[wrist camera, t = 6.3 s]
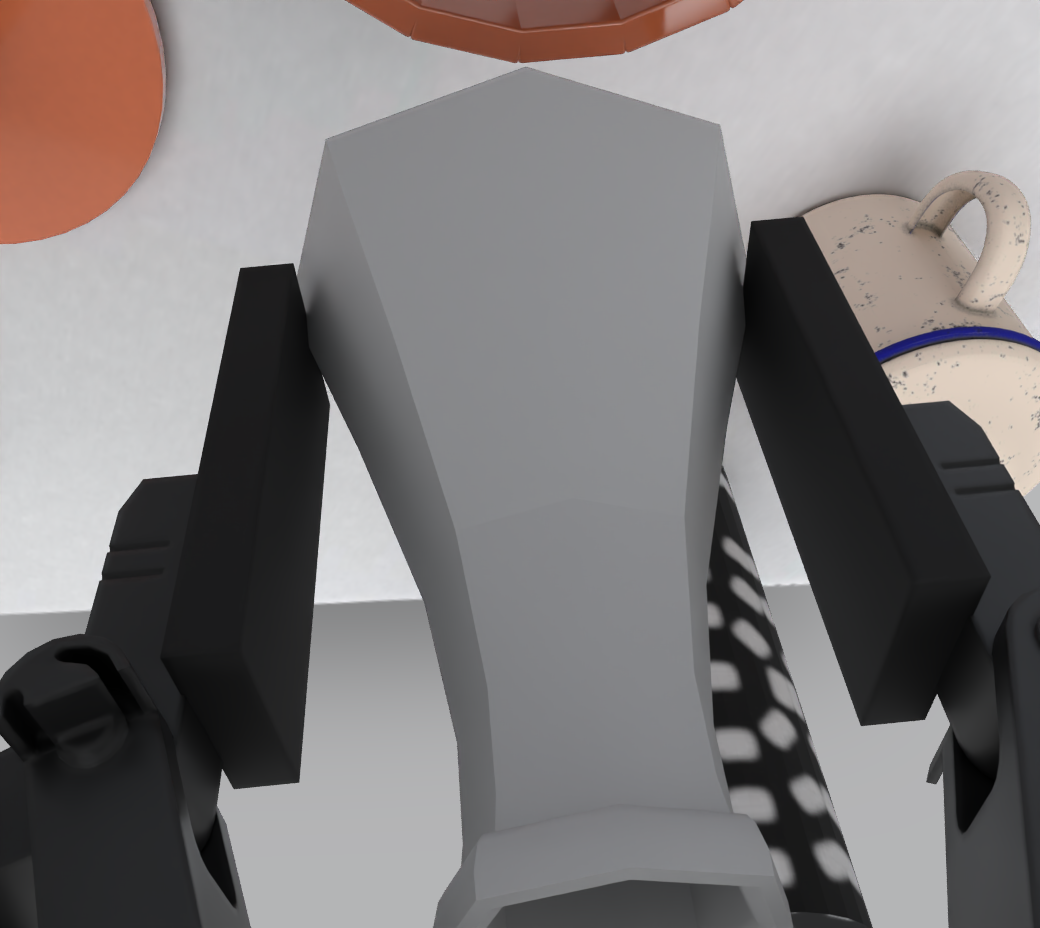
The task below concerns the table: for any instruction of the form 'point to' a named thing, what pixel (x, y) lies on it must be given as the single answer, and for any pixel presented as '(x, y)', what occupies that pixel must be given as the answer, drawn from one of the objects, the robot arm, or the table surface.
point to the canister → (542, 24)
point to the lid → (74, 109)
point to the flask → (553, 477)
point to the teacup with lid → (944, 304)
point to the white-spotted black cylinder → (771, 738)
